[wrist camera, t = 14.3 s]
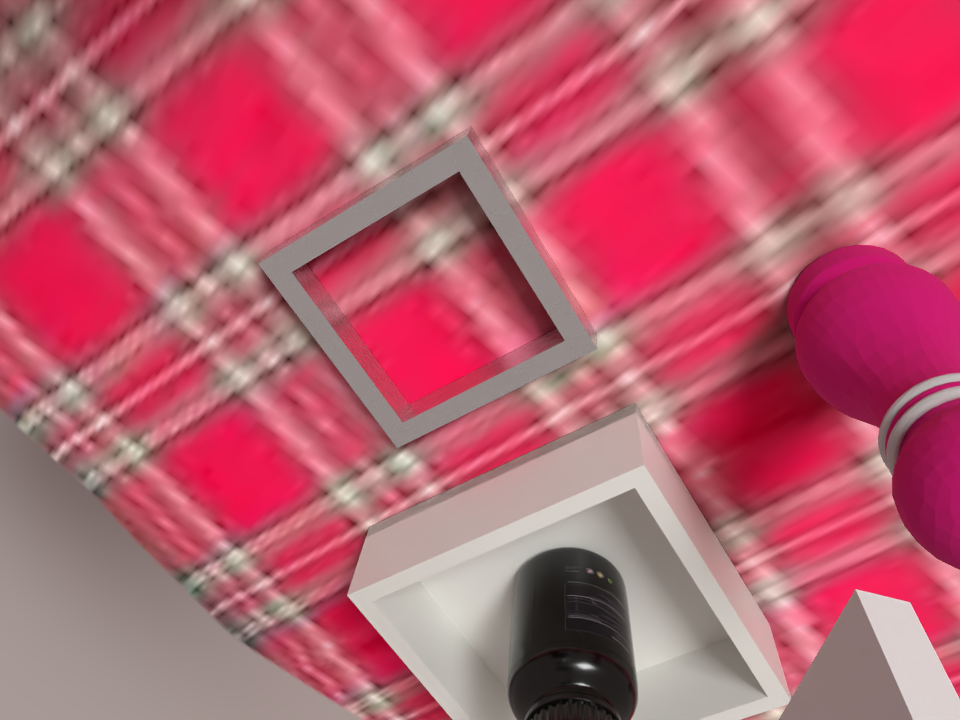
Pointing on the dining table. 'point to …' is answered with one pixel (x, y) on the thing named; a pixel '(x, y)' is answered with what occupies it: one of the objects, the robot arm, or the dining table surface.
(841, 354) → the pepper mill
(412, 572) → the bin
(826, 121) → the dining table surface
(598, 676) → the supplement bottle
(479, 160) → the socket collar
